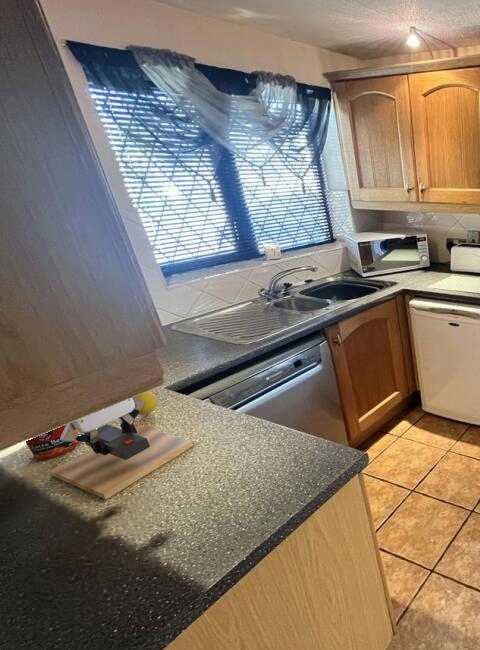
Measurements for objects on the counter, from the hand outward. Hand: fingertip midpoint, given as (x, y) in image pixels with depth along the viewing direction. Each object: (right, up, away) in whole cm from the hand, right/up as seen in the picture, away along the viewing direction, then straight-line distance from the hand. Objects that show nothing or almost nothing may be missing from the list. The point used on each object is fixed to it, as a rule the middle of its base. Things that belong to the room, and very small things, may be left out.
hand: (117, 444), depth 88 cm
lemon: (-10, +2, +18) cm, 21 cm away
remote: (0, 0, 0) cm, 0 cm away
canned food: (-21, -3, +6) cm, 22 cm away
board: (0, -4, +2) cm, 5 cm away
